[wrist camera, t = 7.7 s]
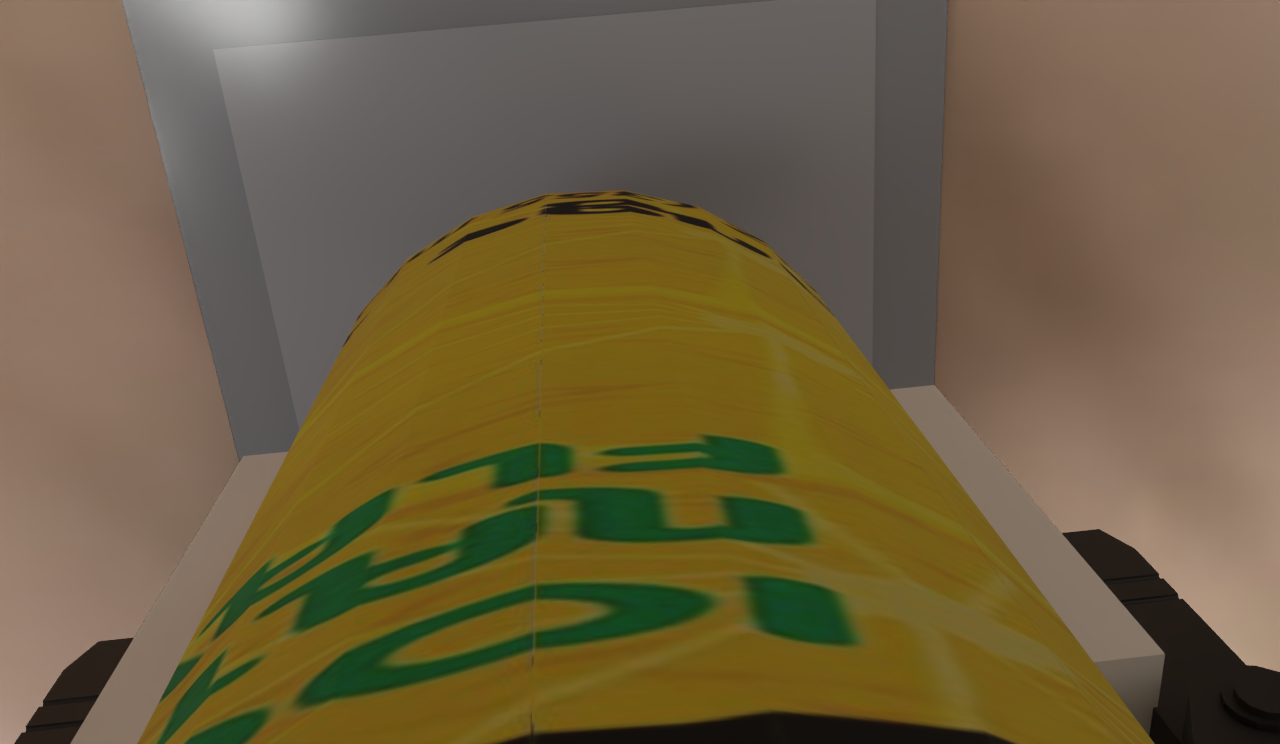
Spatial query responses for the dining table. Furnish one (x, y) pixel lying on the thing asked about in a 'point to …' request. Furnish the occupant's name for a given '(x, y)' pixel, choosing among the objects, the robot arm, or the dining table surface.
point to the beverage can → (621, 522)
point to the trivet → (533, 152)
